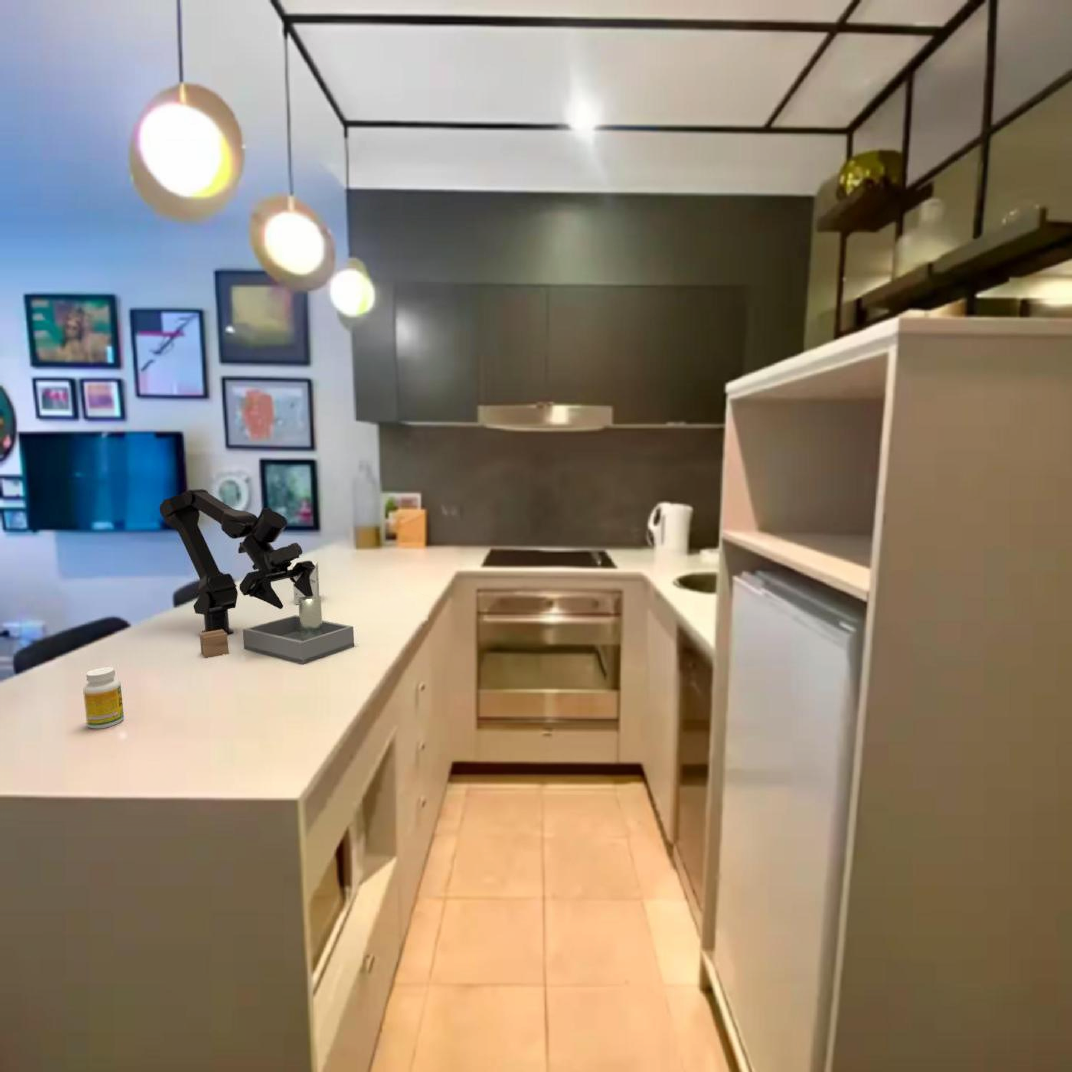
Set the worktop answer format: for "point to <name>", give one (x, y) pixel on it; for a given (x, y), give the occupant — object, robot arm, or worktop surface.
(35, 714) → the worktop surface
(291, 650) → the tote
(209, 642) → the walnut cube
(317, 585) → the supplement box
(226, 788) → the worktop surface
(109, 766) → the worktop surface
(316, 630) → the sage tin
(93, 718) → the supplement bottle
